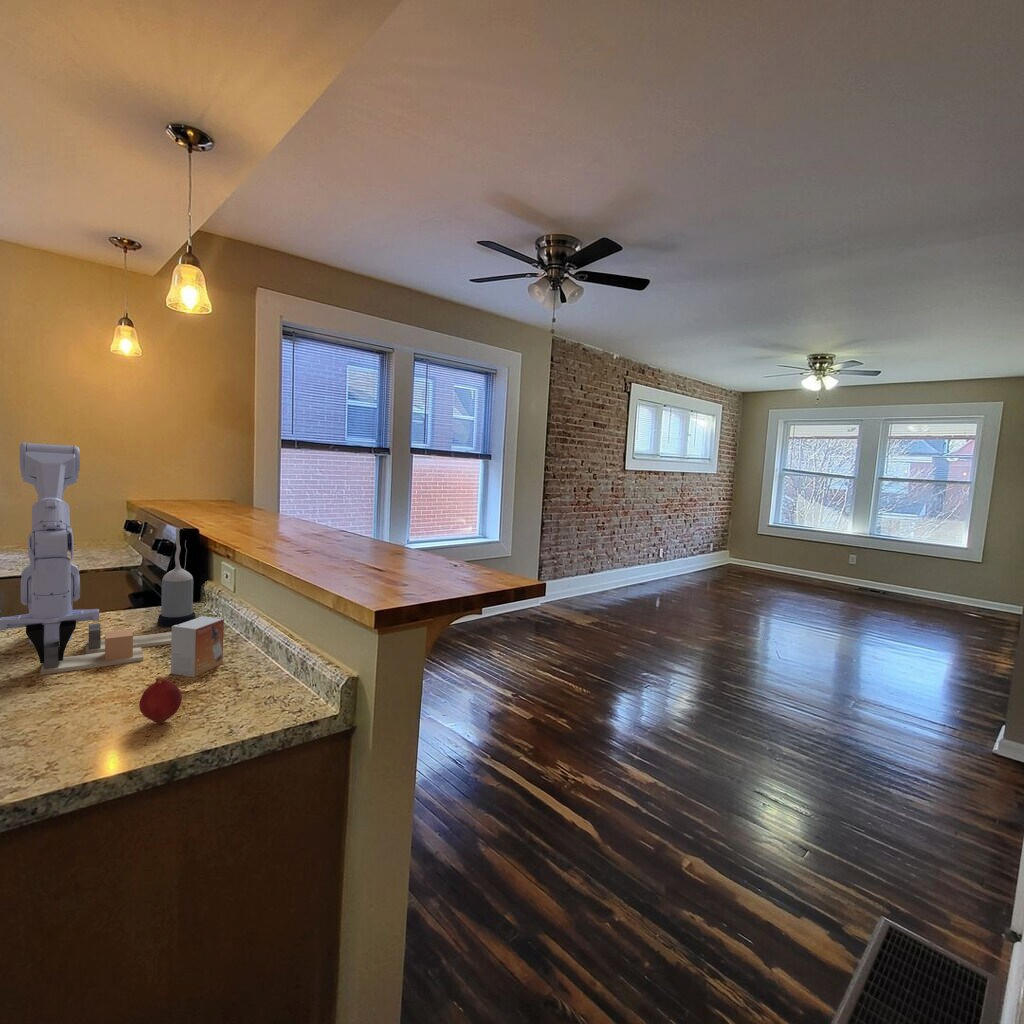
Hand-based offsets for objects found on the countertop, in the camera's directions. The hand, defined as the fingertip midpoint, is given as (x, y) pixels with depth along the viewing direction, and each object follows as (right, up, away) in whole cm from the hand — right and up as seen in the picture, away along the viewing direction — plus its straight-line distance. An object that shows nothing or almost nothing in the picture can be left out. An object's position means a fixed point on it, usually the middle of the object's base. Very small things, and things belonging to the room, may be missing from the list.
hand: (51, 660), depth 104 cm
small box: (+25, -4, +5) cm, 26 cm away
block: (+8, -1, +7) cm, 11 cm away
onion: (+32, -6, -16) cm, 36 cm away
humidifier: (+5, 0, +32) cm, 32 cm away
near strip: (+5, -2, +4) cm, 7 cm away
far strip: (+5, -1, +15) cm, 16 cm away
